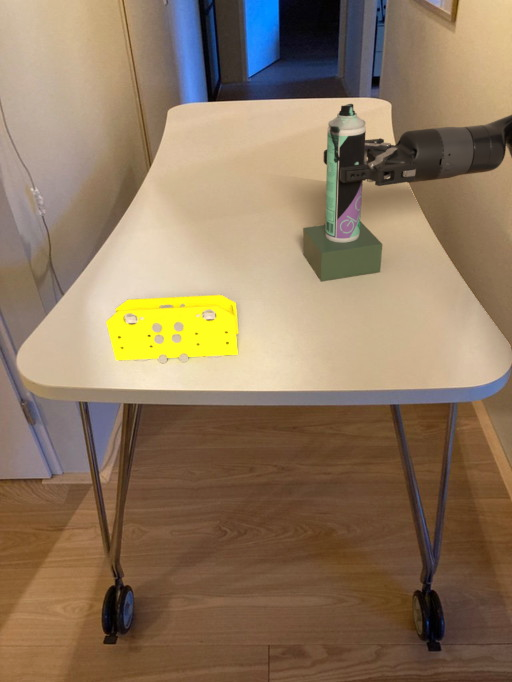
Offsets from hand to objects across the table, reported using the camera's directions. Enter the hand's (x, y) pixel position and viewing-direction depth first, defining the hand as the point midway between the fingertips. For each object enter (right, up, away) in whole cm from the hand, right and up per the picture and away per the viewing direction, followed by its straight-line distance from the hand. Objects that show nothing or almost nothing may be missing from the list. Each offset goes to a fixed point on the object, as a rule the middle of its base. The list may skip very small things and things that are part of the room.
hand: (332, 165), depth 82 cm
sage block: (+3, -13, +10) cm, 17 cm away
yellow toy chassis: (-22, -28, -8) cm, 36 cm away
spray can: (+3, -9, +7) cm, 12 cm away
